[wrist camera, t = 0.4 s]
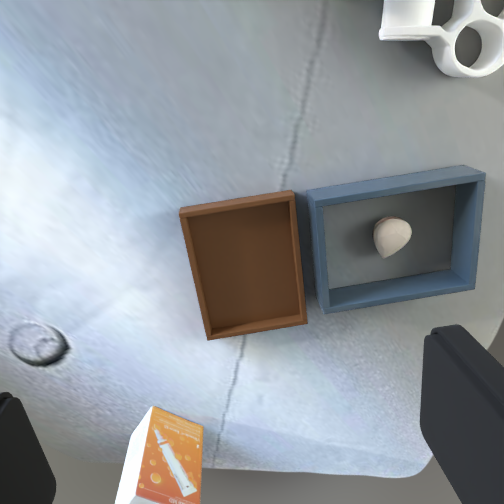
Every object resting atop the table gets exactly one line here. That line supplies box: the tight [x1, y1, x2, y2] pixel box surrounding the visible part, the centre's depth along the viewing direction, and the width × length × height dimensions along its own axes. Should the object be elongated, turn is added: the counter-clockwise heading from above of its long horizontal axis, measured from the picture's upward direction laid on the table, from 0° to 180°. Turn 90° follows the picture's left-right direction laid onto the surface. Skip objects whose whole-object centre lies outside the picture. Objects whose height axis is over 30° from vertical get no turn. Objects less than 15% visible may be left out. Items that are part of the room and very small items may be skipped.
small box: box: [115, 406, 203, 504], centre depth 50 cm, size 8×6×13 cm
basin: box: [306, 165, 486, 314], centre depth 45 cm, size 14×18×4 cm
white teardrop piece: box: [373, 216, 412, 258], centre depth 46 cm, size 4×5×2 cm
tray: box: [179, 190, 308, 340], centre depth 46 cm, size 16×12×2 cm
